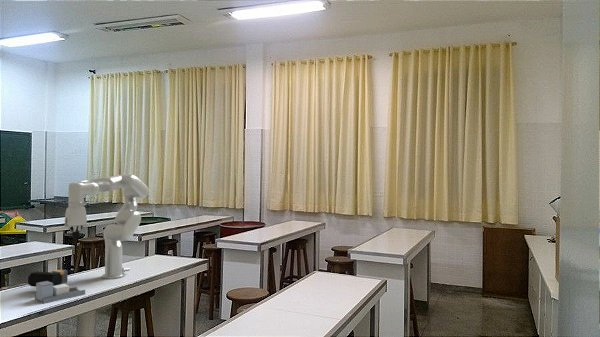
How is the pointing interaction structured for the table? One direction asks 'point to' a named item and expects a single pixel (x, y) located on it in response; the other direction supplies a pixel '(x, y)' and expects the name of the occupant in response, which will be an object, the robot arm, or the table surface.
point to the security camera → (44, 278)
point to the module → (60, 289)
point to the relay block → (64, 275)
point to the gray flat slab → (63, 295)
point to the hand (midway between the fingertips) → (75, 238)
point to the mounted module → (44, 290)
